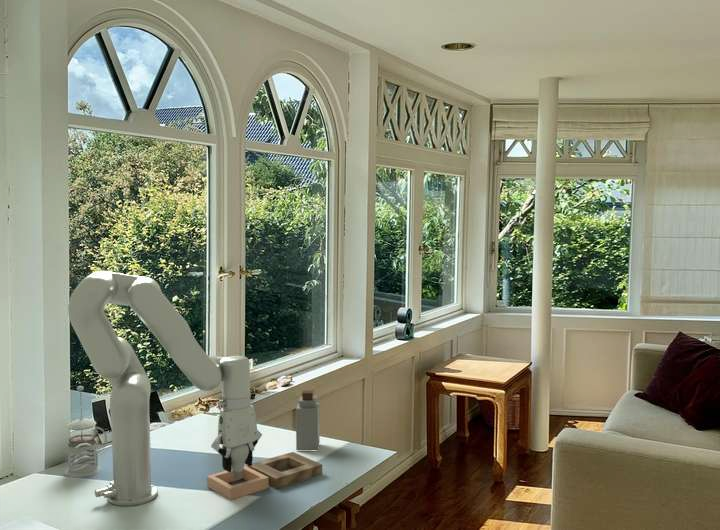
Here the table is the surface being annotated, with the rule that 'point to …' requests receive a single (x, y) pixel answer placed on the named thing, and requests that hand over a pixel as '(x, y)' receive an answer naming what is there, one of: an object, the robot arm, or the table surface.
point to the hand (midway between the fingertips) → (237, 466)
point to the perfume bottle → (307, 422)
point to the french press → (83, 448)
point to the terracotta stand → (252, 484)
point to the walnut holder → (299, 472)
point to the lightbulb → (238, 460)
